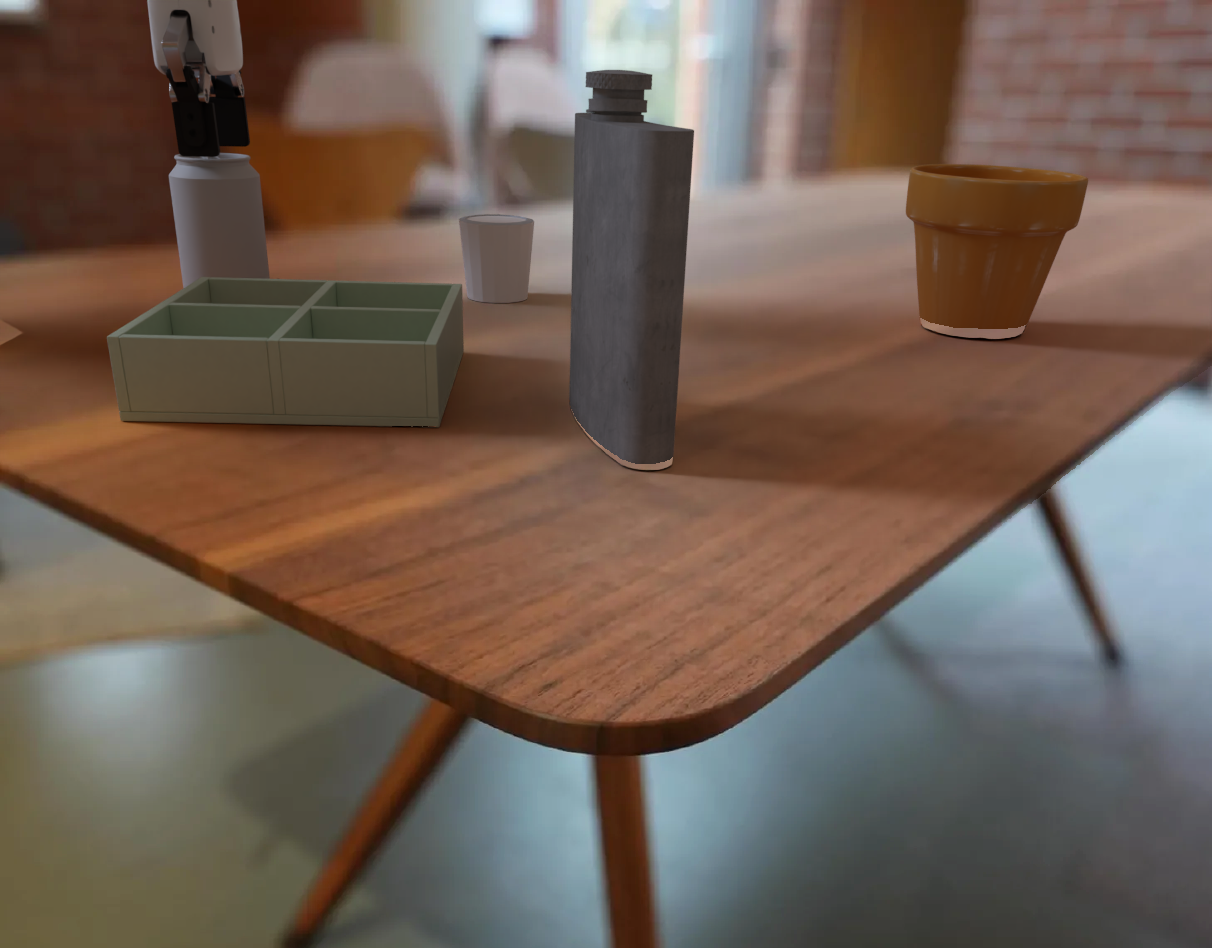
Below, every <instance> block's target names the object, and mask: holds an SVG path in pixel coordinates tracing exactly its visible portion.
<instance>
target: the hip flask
mask: <svg viewBox="0 0 1212 948" xmlns="http://www.w3.org/2000/svg"><path fill="white" fill-rule="evenodd" d="M652 87H653V74H652V73H646V72H641V71H636V70H627V69H600V70H591V71H585V88H589V89H590V88H591V89H592V98H588V99H587V101H588V109H585V112H576V113H574V141H573V142H574V143H573V144H574V146H573V147H574V148H573V192H572V193H573V194H572V195H573V196H572V240H571V241H572V242H571V243H572V244H571V245H572V246H571V251H572V252H571V293H570V294H571V295H570V296H571V297H570V298H571V299H570V343H569V345H570V346H569V347H570V348H569V393H568V394H569V395H568V397H569V398H568V399H569V400H570V402H569V407H570V406H571V408H570V410H571V409H572V411H573V413H574V416H575V417H576V419H577V421H578V422H579V423H580V424H581V426H582V427H583V428H584V429H585V431H586V432H587V433H588V434H589V435H590V436H591V437H593V439H594V440H596V441H597V442H598V443H599V444H600V445H602V446H603V447H604V448H605V449H607V450H609V451H610V452H611V453H613V454H614V455H617V456H618V457H619V458H620V459H622V460H626V461H628V462H631V463H635V464H656V463H660V462H665V461H667V460H670V459H671V458H672V457H673V458H674V454H675V453H674V452H675V438H676V437H675V435H676V421H677V406H678V391H679V375H680V362H681V361H680V360H681V343H682V329H683V314H684V298H685V297H684V296H685V281H686V265H687V252H688V251H687V249H688V234H689V218H690V203H691V202H690V201H691V188H692V172H693V157H694V156H693V155H694V141H695V130H694V129H692V128H685V127H678V126H673V125H668V124H667V125H666V124H660V123H655V122H651V121H645V115H644V114H645V113H648V101H649V100H648V99H645V91H650V90H652V89H653V88H652ZM572 411H571V412H572ZM574 416H573V417H574Z"/></svg>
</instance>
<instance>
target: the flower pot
mask: <svg viewBox="0 0 1212 948" xmlns="http://www.w3.org/2000/svg"><path fill="white" fill-rule="evenodd" d="M1088 185H1089V178H1088V177H1087V176H1084V175H1081V174H1077V173H1072V172H1067V171H1059V170H1052V169H1051V170H1049V169H1041V168H1029V167H1019V166H1007V165H994V164H993V165H992V164H969V163H968V164H966V163H964V164H963V163H961V164H960V163H940V164H939V163H936V164H935V163H934V164H921V165H916V166H913V167H911V168H910V170H909V176H908V184H907V192H906V193H907V194H906V202H905V215H906V217H907V218H908V219H909V220H911V221H912V222H913V231H914V242H915V243H914V246H915V248H914V249H915V267H916V268H915V269H916V285H917V286H916V287H917V302H918V303H917V304H918V316H920V317H919V319H920V318H922V319H924V320H926V321H928V322H930V323H935V324H939V325H944V326H949V327H953V328H978V329H1008V328H1018V327H1021V326H1024V325H1026V324H1027V323H1029V322H1030V319H1031V317H1032V315H1033V312H1034V310H1035V309H1036V308H1035V307H1036V305H1037V302H1038V300H1039V298H1040V295H1041V293H1042V292H1043V288H1044V286H1045V283H1046V281H1047V279H1048V276H1049V274H1050V272H1051V270H1052V267H1053V264H1054V262H1055V259H1056V257H1057V254H1058V252H1059V250H1060V247H1061V245H1062V243H1063V241H1064V238H1065V236H1066V234H1067V233H1068V232H1069V231H1072V230H1073V229H1075V228H1076V227H1077V226H1078V225H1079V223H1080V218H1081V216H1082V211H1083V207H1084V202H1085V198H1086V194H1087V189H1088ZM1027 325H1028V324H1027Z"/></svg>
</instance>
